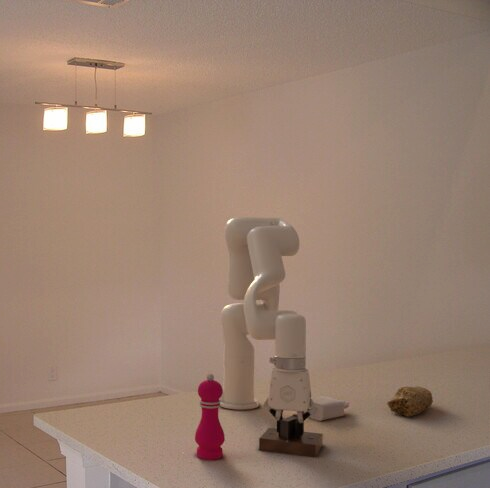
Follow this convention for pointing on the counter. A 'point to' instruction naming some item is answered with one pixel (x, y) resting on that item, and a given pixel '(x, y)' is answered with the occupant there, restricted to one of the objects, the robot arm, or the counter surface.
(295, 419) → the dark bar red tip
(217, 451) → the pepper mill
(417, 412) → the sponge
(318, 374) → the counter surface
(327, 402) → the charger
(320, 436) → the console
